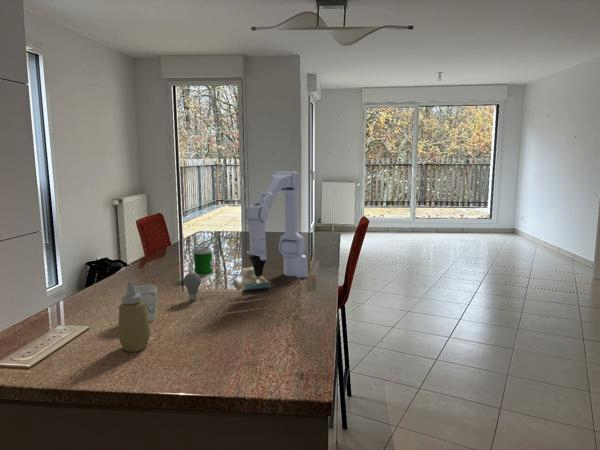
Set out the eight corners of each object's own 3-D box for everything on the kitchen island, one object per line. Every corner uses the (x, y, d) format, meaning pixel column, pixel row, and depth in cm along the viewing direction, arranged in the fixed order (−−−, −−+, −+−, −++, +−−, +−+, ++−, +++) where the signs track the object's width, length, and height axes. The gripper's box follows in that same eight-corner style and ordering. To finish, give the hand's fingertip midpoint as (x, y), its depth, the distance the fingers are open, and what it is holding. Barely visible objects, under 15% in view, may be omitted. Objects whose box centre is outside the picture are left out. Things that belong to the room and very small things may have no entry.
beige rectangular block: (253, 280, 175) (253, 266, 175) (256, 283, 171) (256, 269, 171) (242, 281, 174) (241, 268, 173) (245, 284, 170) (244, 270, 169)
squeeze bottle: (124, 342, 121) (119, 278, 118) (154, 340, 121) (150, 277, 119) (114, 355, 113) (109, 286, 110) (147, 353, 114) (142, 285, 111)
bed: (261, 281, 178) (261, 275, 177) (268, 288, 169) (268, 282, 168) (233, 285, 173) (233, 279, 173) (239, 292, 165) (238, 285, 164)
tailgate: (266, 286, 168) (270, 281, 162) (267, 289, 167) (271, 284, 162) (242, 289, 164) (245, 284, 159) (242, 292, 164) (246, 287, 159)
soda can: (208, 278, 183) (207, 250, 181) (191, 278, 185) (190, 249, 183) (215, 274, 190) (214, 246, 189) (199, 273, 192) (198, 246, 190)
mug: (133, 330, 129) (131, 297, 128) (115, 324, 134) (113, 292, 132) (164, 317, 139) (162, 287, 137) (146, 313, 143) (144, 283, 142)
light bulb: (205, 298, 158) (203, 271, 156) (196, 303, 152) (194, 275, 150) (190, 296, 159) (189, 269, 158) (181, 302, 154) (179, 274, 152)
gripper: (241, 236, 163) (242, 272, 165) (252, 243, 150) (253, 282, 152) (259, 234, 165) (260, 270, 168) (272, 241, 152) (272, 279, 154)
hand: (258, 275), depth 160 cm, fingers closed
